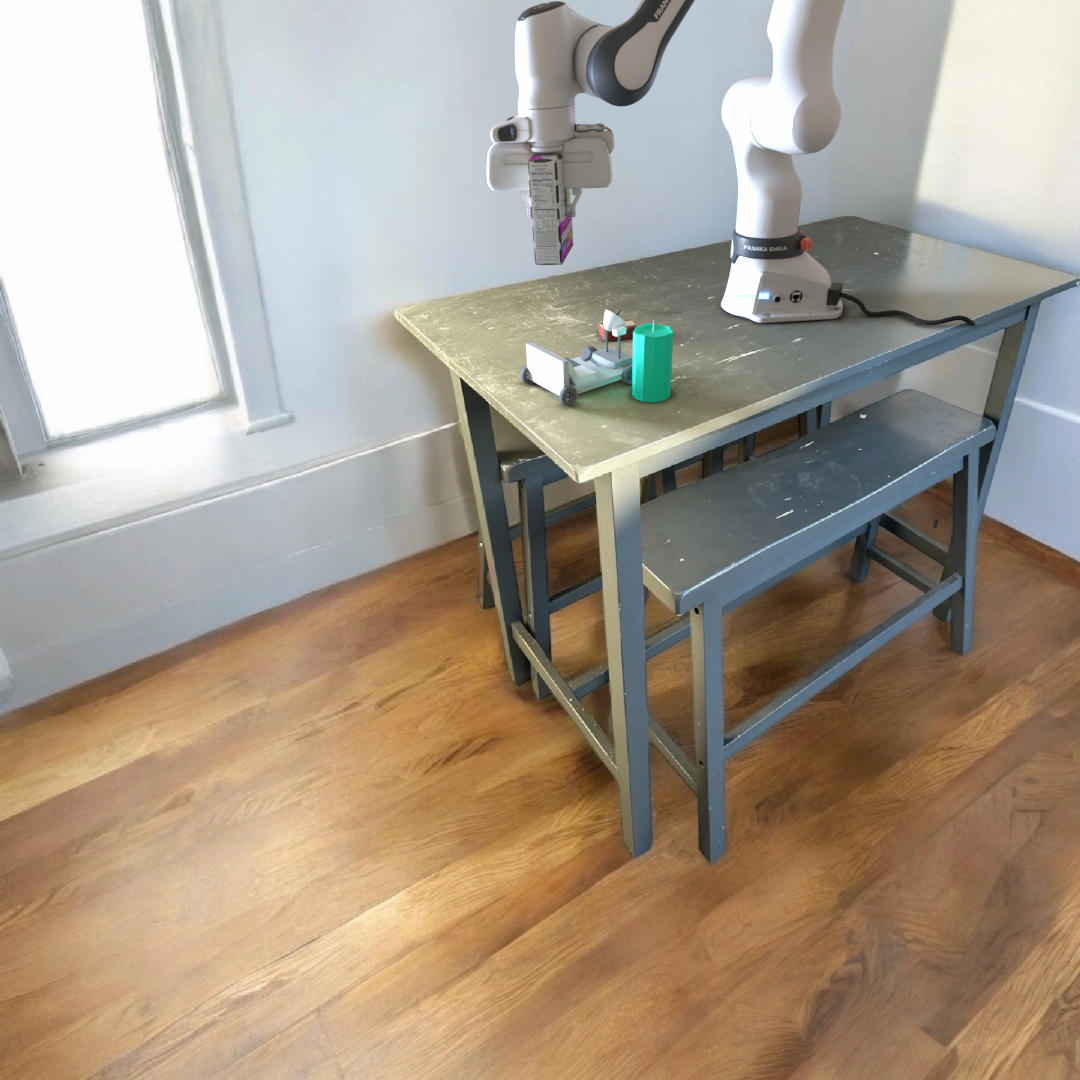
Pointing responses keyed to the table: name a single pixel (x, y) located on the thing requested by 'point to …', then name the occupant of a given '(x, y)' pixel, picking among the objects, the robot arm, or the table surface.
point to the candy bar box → (549, 210)
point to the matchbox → (629, 334)
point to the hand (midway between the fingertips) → (551, 217)
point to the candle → (652, 362)
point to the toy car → (579, 365)
